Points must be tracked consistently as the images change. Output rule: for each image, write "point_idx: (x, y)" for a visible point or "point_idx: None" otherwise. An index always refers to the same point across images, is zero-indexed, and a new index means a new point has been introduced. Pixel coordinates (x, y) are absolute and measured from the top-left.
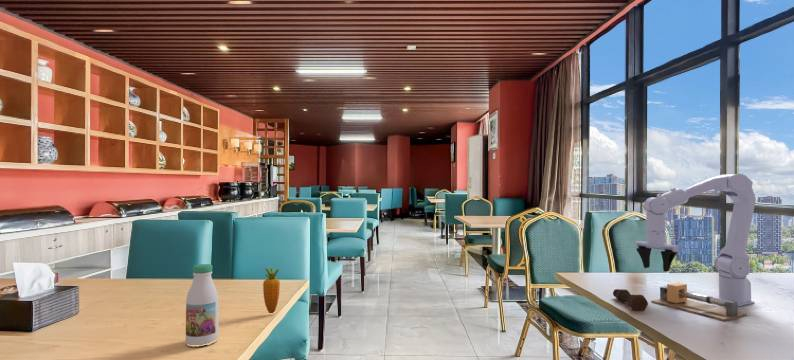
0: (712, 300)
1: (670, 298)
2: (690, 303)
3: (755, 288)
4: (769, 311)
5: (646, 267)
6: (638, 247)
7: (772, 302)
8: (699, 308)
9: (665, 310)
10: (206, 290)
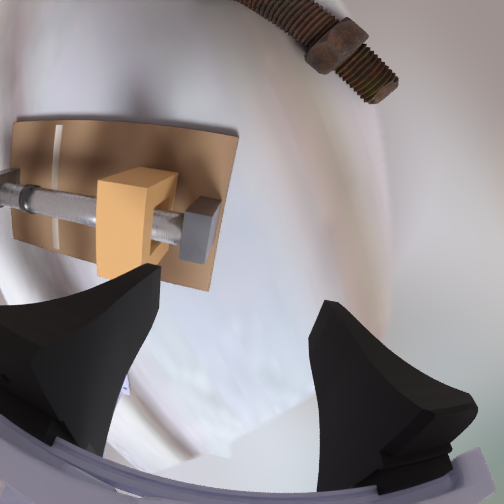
0: (19, 185)
1: (159, 172)
2: None
3: (158, 461)
4: None
5: (321, 310)
6: (451, 450)
7: None
8: (75, 180)
9: (149, 61)
10: None
